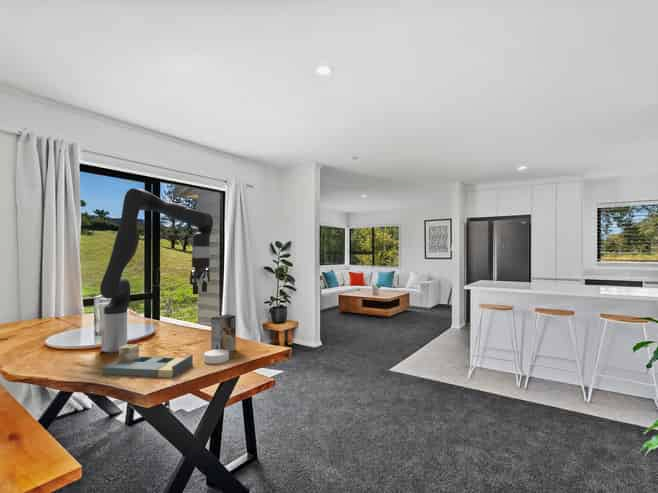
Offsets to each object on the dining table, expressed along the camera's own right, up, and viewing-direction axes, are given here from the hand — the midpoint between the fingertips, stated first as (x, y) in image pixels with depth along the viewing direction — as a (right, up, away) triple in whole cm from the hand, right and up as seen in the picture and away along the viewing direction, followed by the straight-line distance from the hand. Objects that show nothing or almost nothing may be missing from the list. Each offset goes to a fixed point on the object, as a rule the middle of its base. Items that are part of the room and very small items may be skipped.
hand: (199, 293), depth 155 cm
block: (-23, -24, -15) cm, 37 cm away
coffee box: (+9, -27, +4) cm, 29 cm away
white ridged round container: (+10, -28, -8) cm, 30 cm away
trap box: (-12, -27, -20) cm, 36 cm away
